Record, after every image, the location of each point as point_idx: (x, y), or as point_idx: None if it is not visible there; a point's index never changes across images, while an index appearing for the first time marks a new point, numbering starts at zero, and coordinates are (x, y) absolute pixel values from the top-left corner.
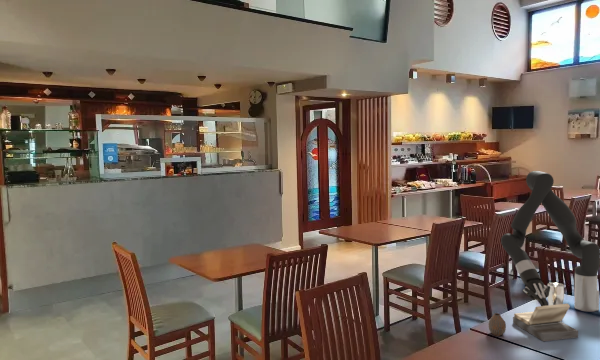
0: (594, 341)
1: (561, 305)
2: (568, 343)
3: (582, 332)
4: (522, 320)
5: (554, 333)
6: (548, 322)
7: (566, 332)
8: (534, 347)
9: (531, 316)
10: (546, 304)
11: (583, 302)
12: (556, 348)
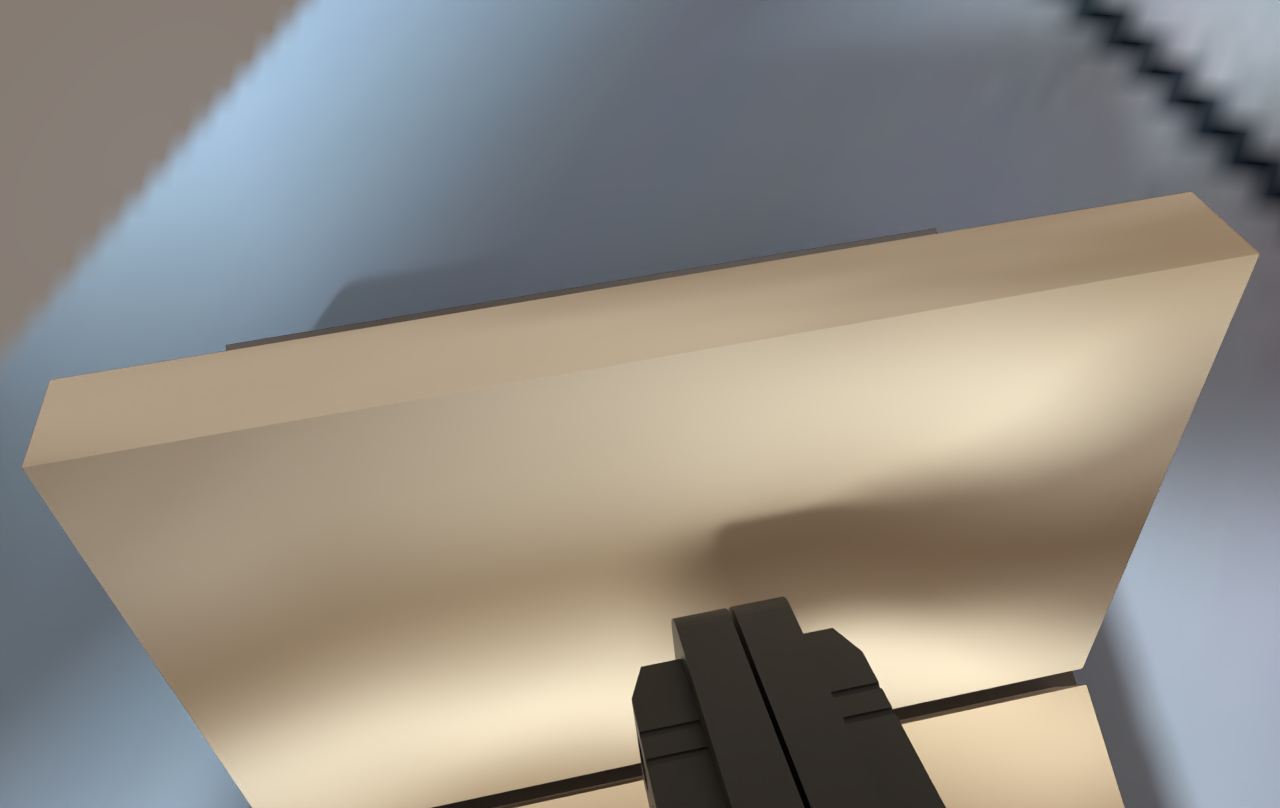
0: (107, 235)
1: (340, 373)
2: (555, 196)
3: (29, 596)
4: None
5: (722, 267)
6: (569, 792)
7: (478, 308)
8: (1105, 111)
9: (1126, 547)
10: (730, 646)
11: None
12: (815, 63)
